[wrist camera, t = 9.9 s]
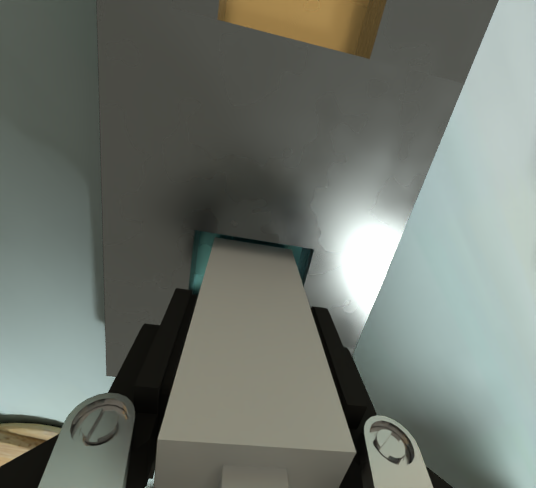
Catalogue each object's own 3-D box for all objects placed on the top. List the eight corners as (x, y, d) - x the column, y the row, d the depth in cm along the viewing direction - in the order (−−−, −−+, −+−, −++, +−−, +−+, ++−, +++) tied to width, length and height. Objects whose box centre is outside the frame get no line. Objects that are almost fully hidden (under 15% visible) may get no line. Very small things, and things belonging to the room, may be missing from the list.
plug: (291, 249, 14) (377, 521, 4) (275, 311, 15) (317, 615, 6) (214, 237, 13) (137, 513, 4) (205, 302, 15) (132, 618, 5)
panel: (535, -215, 9) (633, -327, 7) (324, 361, 18) (335, 396, 16) (132, -388, 7) (80, -613, 5) (125, 340, 17) (106, 375, 14)
